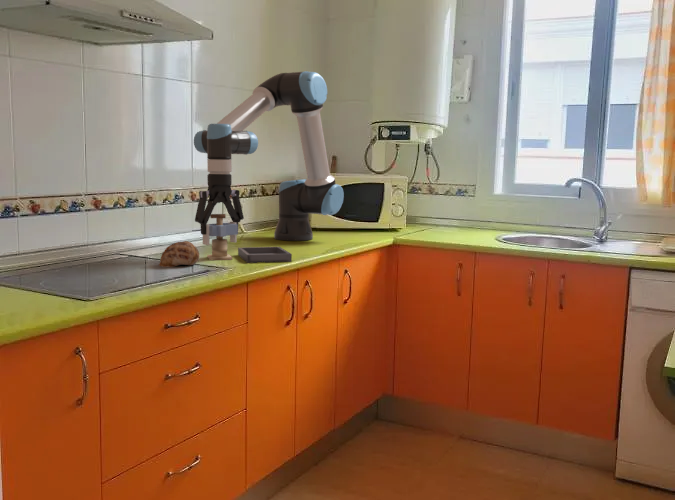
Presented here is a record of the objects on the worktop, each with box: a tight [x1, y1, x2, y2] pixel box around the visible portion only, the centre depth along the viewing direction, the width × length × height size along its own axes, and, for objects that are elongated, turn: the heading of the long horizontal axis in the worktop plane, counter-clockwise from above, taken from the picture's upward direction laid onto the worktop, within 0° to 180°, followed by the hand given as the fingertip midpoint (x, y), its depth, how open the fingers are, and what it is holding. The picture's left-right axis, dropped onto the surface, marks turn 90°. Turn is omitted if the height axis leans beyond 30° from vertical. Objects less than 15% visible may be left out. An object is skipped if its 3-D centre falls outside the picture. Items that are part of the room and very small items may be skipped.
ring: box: [201, 222, 239, 237], centre depth 231 cm, size 10×8×3 cm
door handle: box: [206, 213, 233, 261], centre depth 232 cm, size 7×7×14 cm
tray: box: [237, 246, 293, 264], centre depth 234 cm, size 14×17×2 cm
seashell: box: [158, 240, 200, 268], centre depth 217 cm, size 10×9×10 cm
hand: (219, 243), depth 232 cm, fingers closed on ring, 10 cm apart
